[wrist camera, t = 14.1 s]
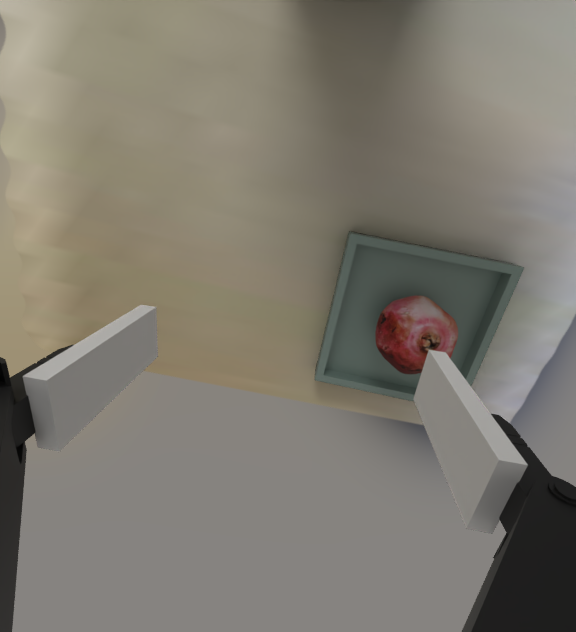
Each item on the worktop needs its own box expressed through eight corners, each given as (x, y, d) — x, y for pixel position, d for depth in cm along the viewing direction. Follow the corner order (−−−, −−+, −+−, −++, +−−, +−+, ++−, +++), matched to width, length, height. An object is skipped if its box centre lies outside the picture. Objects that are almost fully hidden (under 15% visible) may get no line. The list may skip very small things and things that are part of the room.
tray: (348, 231, 40) (350, 233, 37) (512, 263, 39) (524, 267, 37) (315, 370, 47) (314, 380, 45) (452, 400, 46) (459, 411, 44)
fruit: (397, 367, 45) (416, 412, 35) (357, 315, 43) (366, 348, 33) (458, 331, 42) (496, 369, 33) (418, 274, 40) (447, 297, 31)
